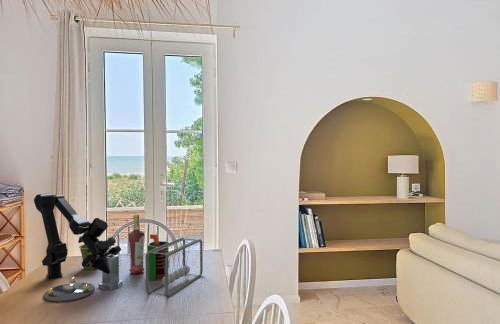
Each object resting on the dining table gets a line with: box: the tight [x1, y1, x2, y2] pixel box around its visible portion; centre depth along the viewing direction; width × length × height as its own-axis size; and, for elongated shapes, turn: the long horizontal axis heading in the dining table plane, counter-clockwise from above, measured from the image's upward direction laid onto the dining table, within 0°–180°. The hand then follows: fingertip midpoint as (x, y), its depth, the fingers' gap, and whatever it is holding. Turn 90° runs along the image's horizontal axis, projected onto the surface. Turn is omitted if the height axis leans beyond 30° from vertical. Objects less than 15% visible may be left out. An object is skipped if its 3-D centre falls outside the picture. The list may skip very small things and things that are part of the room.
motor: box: [147, 233, 170, 282], centre depth 175 cm, size 10×9×20 cm
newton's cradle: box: [144, 237, 204, 298], centre depth 165 cm, size 30×10×18 cm, turn 159°
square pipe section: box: [98, 254, 124, 291], centre depth 163 cm, size 9×9×13 cm
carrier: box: [43, 276, 96, 303], centre depth 156 cm, size 19×19×4 cm
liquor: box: [128, 213, 145, 275], centre depth 181 cm, size 7×7×28 cm
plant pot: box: [78, 243, 97, 271], centre depth 189 cm, size 12×12×11 cm
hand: (113, 271), depth 163 cm, fingers closed on square pipe section, 5 cm apart
